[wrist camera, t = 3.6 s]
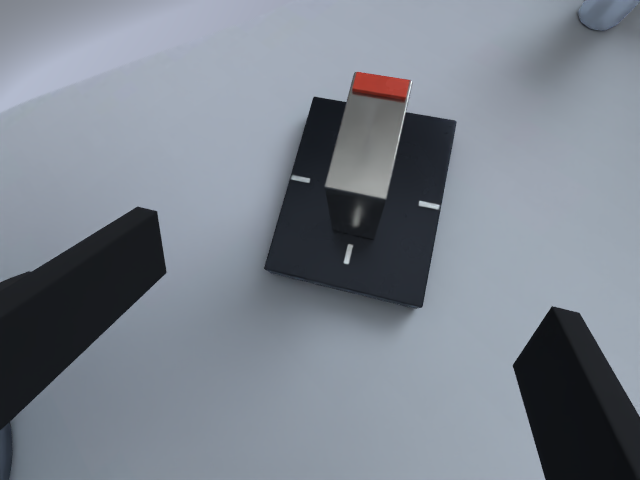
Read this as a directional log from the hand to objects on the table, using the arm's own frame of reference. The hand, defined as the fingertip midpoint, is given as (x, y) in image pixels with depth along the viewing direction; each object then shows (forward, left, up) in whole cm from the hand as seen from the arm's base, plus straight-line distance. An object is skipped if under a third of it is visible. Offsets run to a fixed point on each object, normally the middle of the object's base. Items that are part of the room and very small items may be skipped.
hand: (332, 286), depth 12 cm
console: (+2, +8, -14) cm, 16 cm away
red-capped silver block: (+2, +8, -12) cm, 14 cm away
